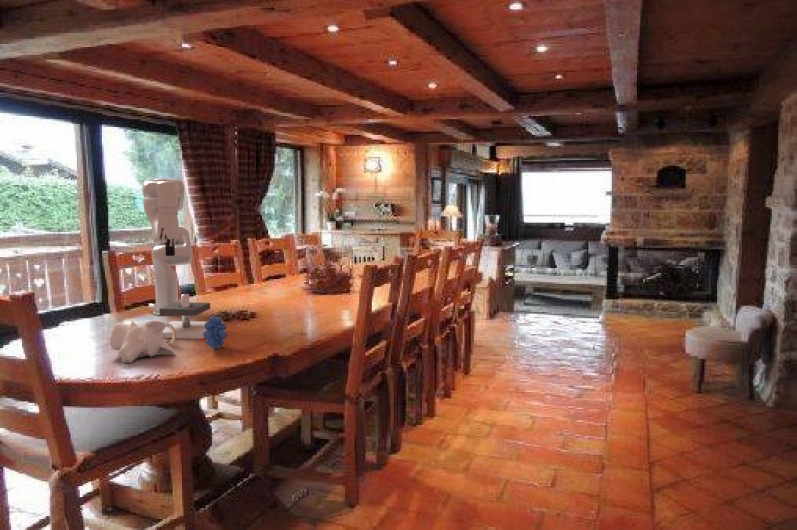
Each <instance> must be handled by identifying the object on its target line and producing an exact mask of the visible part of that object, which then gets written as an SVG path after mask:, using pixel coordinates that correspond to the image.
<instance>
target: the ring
mask: <svg viewBox="0 0 797 530" xmlns="http://www.w3.org/2000/svg"><path fill="white" fill-rule="evenodd" d="M165 323H166V327H168V328H170V329H171V331H172V334H173V338H171V340H170V341H169V340H165V339H164V341H165V342H166V343H167V344H168V345H170V344H173V343H174V341H175V340H176V339H177V338H176V330H175V328H174V327H173V326H172V325H171V324H170V323H169V321H168V322H165ZM168 323H169V324H168Z"/></svg>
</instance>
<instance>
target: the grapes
mask: <svg viewBox="0 0 797 530" xmlns="http://www.w3.org/2000/svg"><path fill="white" fill-rule="evenodd" d="M205 322H206V323H205V325H204V327H205V328H206V331H204V333H203V335H204V337H205V339H206V340H205V343H206V346H208V347H211V348H212V350H217V349H219V348H220V347H223V346H224V344H225V339H226V338H227V336H228V335H227V332H226V329H227V325H226V324H225V323H224V322H223V320H222V318H221V317H219V316H210V317H209V319H208V321H205ZM222 322H223V323H222Z"/></svg>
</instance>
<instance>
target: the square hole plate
mask: <svg viewBox="0 0 797 530" xmlns="http://www.w3.org/2000/svg"><path fill="white" fill-rule="evenodd" d="M189 305H190V306H189V307H181V301H178V302H176V303H174V304H171V305H168V306H166V307H163V308H160V309H159V311H160V315H159V316H170V317H171V316H173V317H174V316H177V317H178V316H180V317H182V316H190V317H196V316H198V315H200V314H203V313H204V312H207V311H209V310H211V302H190V301H189Z"/></svg>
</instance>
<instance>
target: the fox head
mask: <svg viewBox="0 0 797 530" xmlns="http://www.w3.org/2000/svg"><path fill="white" fill-rule="evenodd" d="M166 323H167V322H165V321H161V320H158V319H150V320H148V321H144V322H143V321H141V322H135V321H134V319H132V320H131V322H130V323H124V322H117V323H116V324H114V326H113V329H112V330H111V331H112V332H111V335H110V340H109V345H110V347H111V349H112V350H113V351H118V356H119V357H120V358H121V361H122V362H123V363H126V364H131V363H133V362H134V361H135V360H136V359H138V358H145V357H148V356H149V357H150V358H151V357H154V356H156V355H157V354H158V355H173V356H174V355H175V356H176V355H177V353H176V352H175V350H174V349H173V348H172V347H171V346H170V344H167V343H166V342H165V341H166V340H165V338H164V336H163V330H164V329H165V327H166ZM164 340H165V341H164Z"/></svg>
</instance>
